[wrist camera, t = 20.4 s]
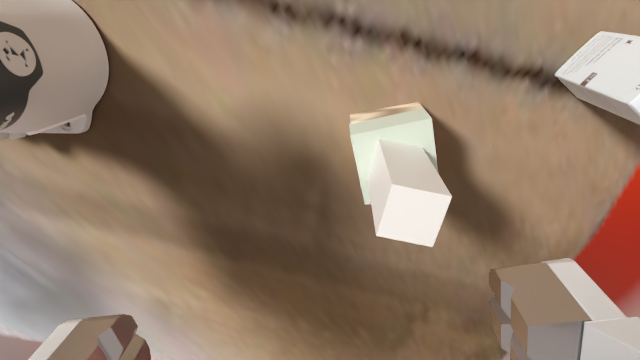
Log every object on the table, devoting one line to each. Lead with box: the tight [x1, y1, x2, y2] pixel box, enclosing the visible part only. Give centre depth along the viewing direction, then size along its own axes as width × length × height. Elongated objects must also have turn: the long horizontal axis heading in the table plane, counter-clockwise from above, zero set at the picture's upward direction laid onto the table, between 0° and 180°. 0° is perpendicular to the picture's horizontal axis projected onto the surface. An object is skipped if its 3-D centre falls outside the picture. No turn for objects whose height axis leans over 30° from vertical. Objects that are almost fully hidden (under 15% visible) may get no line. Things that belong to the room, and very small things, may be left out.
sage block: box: [349, 108, 438, 205], centre depth 40 cm, size 8×8×4 cm
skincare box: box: [555, 31, 640, 125], centre depth 35 cm, size 6×4×12 cm
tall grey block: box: [367, 138, 452, 247], centre depth 33 cm, size 4×4×11 cm
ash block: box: [350, 102, 423, 185], centre depth 44 cm, size 8×8×4 cm
